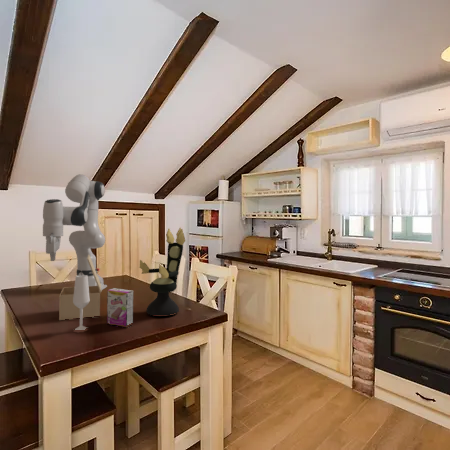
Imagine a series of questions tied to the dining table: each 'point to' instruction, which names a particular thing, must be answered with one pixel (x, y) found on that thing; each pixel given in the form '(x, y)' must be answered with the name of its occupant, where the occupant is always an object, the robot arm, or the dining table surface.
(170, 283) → the black and tan chair
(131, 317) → the candy bar box
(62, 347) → the dining table surface
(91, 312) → the carton
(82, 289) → the champagne flute
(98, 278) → the carton flap
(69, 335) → the dining table surface
